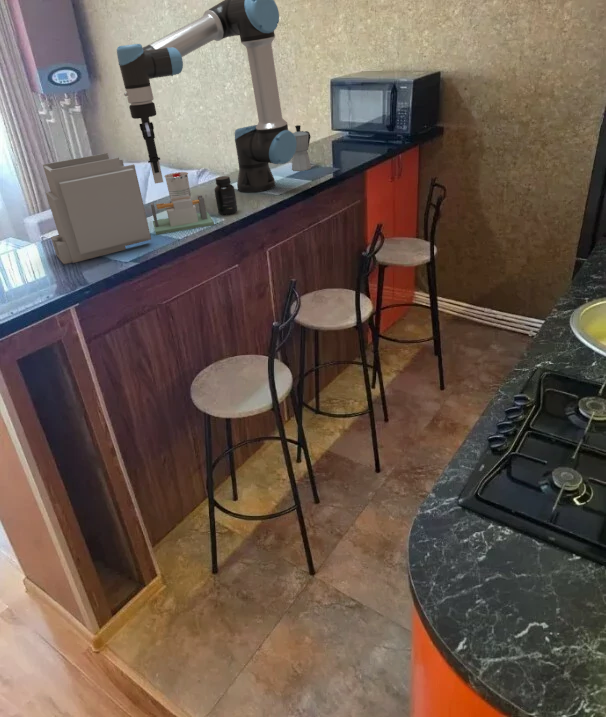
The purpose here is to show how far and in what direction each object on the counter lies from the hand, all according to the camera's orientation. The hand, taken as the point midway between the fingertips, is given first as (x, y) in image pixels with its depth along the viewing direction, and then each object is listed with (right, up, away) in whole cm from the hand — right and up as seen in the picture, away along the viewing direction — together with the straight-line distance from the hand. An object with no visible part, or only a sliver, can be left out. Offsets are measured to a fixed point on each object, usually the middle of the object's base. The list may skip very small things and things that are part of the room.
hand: (159, 182), depth 184 cm
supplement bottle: (+20, -6, +16) cm, 26 cm away
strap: (+6, -6, +5) cm, 10 cm away
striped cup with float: (+2, -1, +27) cm, 27 cm away
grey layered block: (-14, -23, -7) cm, 28 cm away
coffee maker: (+46, +27, +69) cm, 87 cm away
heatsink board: (+6, -12, +8) cm, 15 cm away
